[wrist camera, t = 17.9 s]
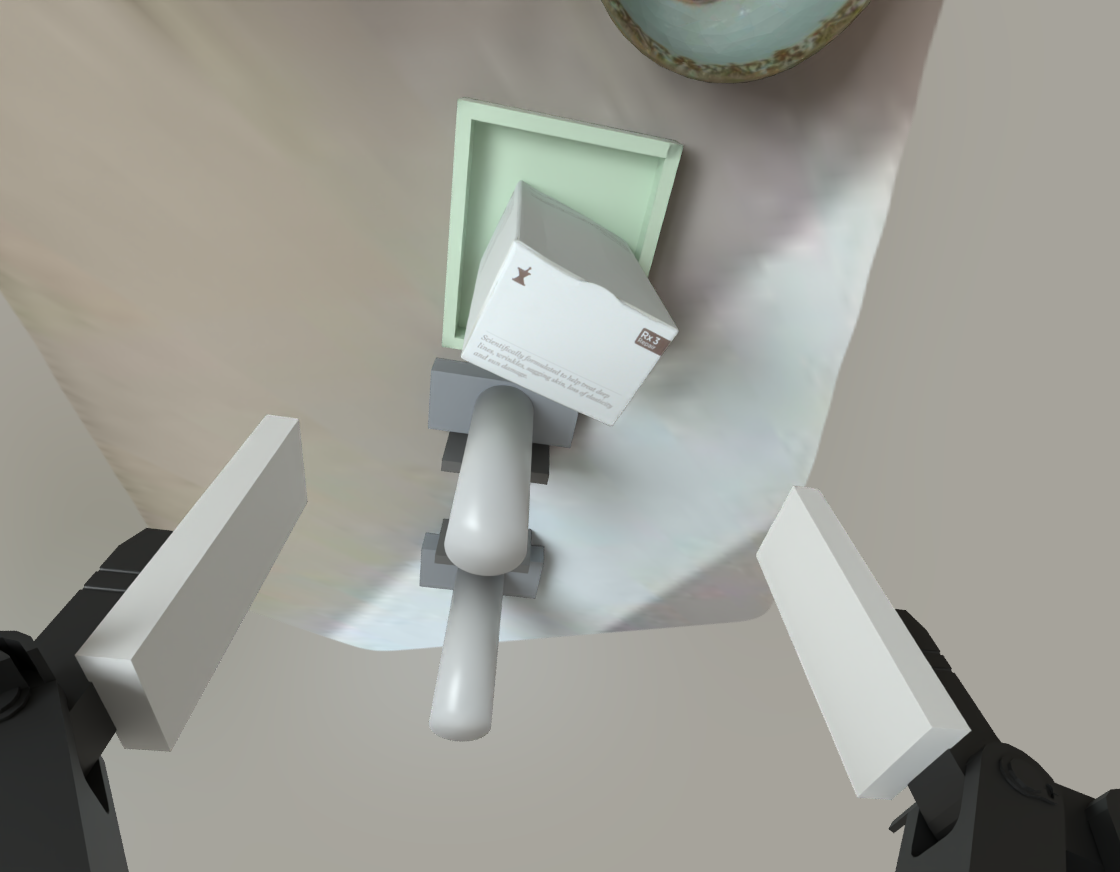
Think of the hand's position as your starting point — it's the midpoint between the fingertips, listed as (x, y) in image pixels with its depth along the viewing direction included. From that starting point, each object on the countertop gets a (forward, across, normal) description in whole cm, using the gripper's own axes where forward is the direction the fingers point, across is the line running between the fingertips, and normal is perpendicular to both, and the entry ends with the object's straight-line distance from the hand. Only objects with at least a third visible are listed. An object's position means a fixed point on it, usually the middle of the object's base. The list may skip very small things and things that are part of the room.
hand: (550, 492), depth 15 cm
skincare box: (+25, +1, 0) cm, 25 cm away
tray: (+26, 0, 0) cm, 26 cm away
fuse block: (+25, -1, -21) cm, 33 cm away
